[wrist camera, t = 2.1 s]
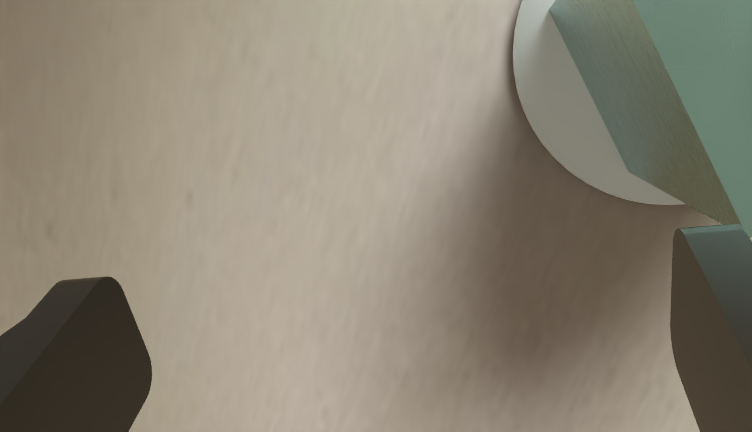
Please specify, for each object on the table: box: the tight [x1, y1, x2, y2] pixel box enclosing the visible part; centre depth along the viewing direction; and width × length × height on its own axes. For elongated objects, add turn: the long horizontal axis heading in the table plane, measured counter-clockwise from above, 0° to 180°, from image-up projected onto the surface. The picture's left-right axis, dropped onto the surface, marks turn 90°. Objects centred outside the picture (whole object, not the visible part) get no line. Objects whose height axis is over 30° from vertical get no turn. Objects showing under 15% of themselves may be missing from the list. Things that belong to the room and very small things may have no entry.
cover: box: [549, 0, 752, 238], centre depth 18 cm, size 6×6×13 cm
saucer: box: [513, 0, 685, 205], centre depth 25 cm, size 11×11×1 cm
